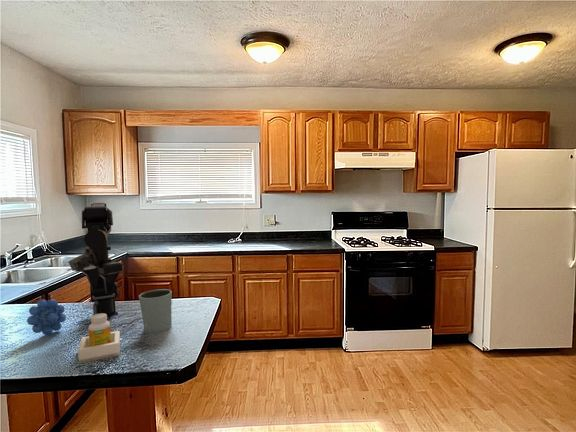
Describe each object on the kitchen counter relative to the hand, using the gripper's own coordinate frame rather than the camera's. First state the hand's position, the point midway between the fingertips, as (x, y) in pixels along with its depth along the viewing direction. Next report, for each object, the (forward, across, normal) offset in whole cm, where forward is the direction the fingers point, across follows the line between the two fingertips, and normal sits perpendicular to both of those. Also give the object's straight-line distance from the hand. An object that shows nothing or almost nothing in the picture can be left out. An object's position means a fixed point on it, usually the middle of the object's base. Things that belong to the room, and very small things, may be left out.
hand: (100, 291), depth 113 cm
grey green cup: (+13, +15, +10) cm, 22 cm away
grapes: (+13, -11, -11) cm, 21 cm away
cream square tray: (+13, +16, -9) cm, 22 cm away
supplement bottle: (+12, +16, -9) cm, 22 cm away
